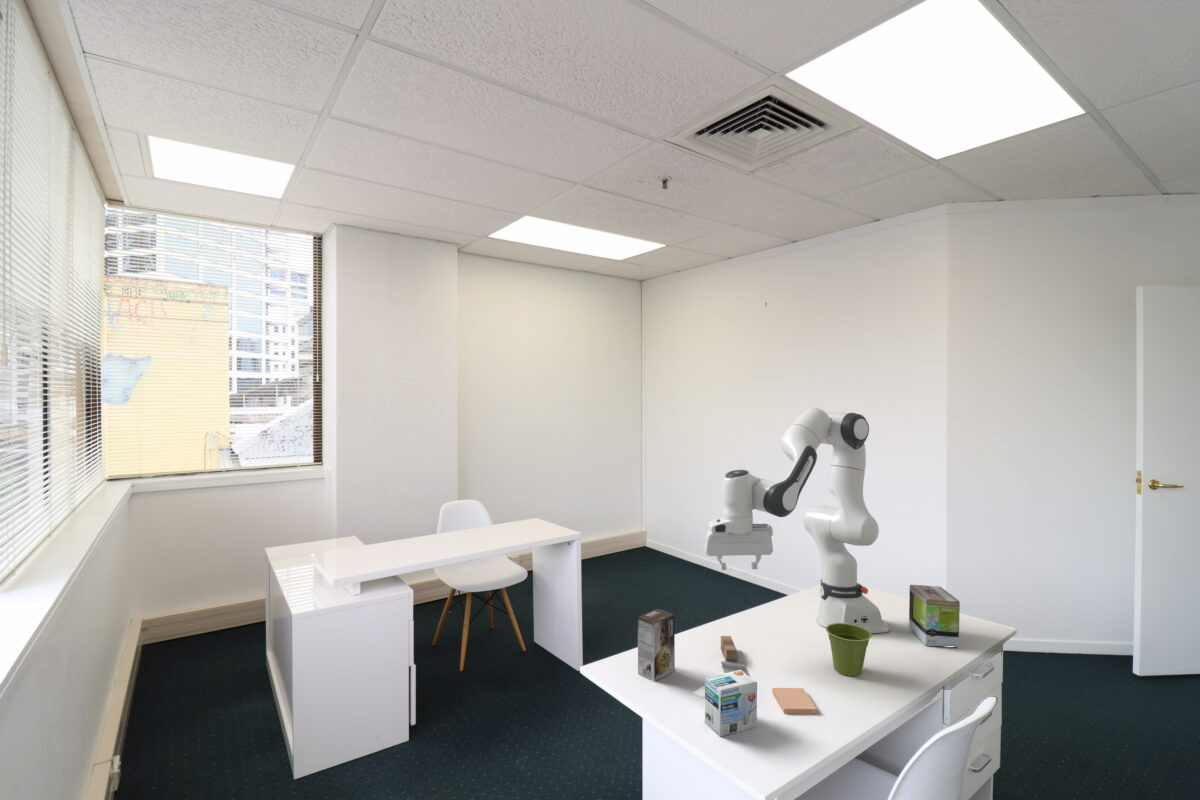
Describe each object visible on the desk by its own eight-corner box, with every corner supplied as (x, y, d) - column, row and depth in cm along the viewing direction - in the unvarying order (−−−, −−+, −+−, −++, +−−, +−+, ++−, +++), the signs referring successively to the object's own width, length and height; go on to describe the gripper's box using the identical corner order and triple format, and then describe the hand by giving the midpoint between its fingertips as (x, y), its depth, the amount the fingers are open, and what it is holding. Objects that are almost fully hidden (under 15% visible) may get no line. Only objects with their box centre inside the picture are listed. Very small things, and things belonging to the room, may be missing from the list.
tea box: (960, 649, 178) (960, 600, 178) (925, 646, 180) (925, 598, 180) (940, 629, 193) (940, 585, 193) (907, 627, 195) (908, 583, 194)
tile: (803, 688, 152) (817, 708, 142) (802, 694, 152) (816, 715, 142) (772, 687, 152) (784, 708, 142) (772, 694, 152) (783, 715, 142)
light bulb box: (720, 737, 132) (720, 690, 132) (703, 722, 138) (703, 677, 138) (758, 727, 136) (758, 681, 136) (740, 712, 142) (740, 668, 142)
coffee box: (657, 663, 168) (657, 607, 168) (675, 671, 163) (675, 613, 163) (636, 674, 162) (636, 616, 162) (654, 682, 157) (654, 622, 157)
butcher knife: (738, 681, 159) (738, 677, 159) (709, 703, 147) (709, 699, 147) (721, 675, 162) (721, 671, 162) (692, 696, 151) (692, 691, 151)
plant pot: (820, 673, 162) (820, 632, 162) (832, 657, 172) (832, 619, 172) (865, 685, 155) (865, 643, 155) (875, 669, 165) (876, 629, 165)
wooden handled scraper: (715, 648, 178) (715, 635, 178) (735, 649, 178) (735, 636, 178) (725, 675, 161) (725, 661, 161) (747, 676, 161) (747, 661, 161)
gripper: (769, 520, 180) (770, 565, 180) (703, 522, 180) (704, 566, 181) (775, 525, 174) (776, 571, 174) (706, 527, 174) (707, 573, 175)
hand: (738, 569), depth 177 cm, fingers open, 8 cm apart
